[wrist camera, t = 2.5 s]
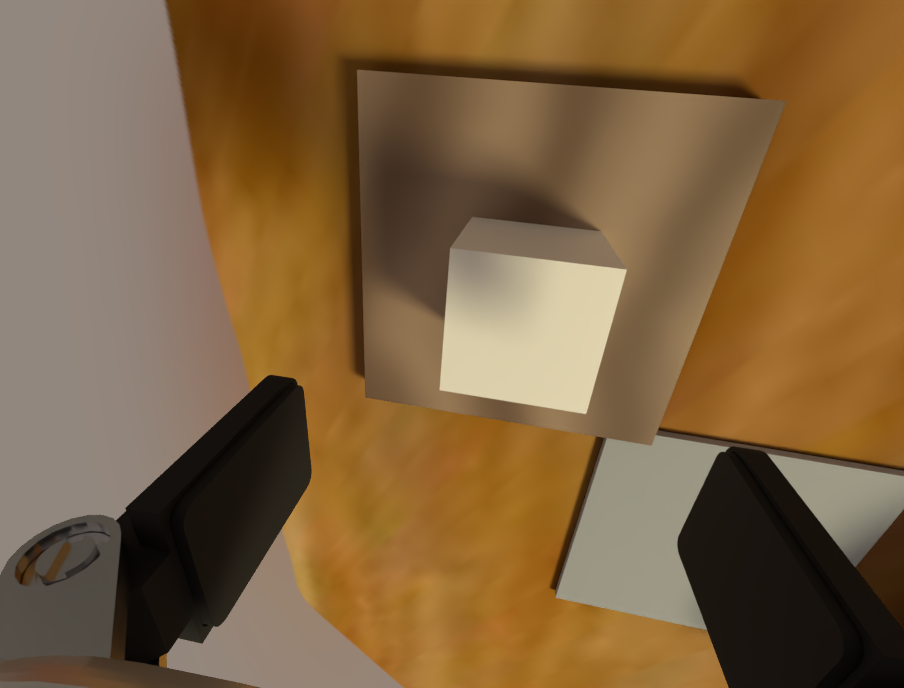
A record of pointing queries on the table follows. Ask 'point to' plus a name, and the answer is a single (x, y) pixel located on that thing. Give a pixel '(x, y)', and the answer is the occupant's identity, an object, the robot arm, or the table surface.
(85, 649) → the robot arm
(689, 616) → the gray square plate
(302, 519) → the table surface
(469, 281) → the cream cube
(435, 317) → the tan square base plate
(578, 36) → the table surface
